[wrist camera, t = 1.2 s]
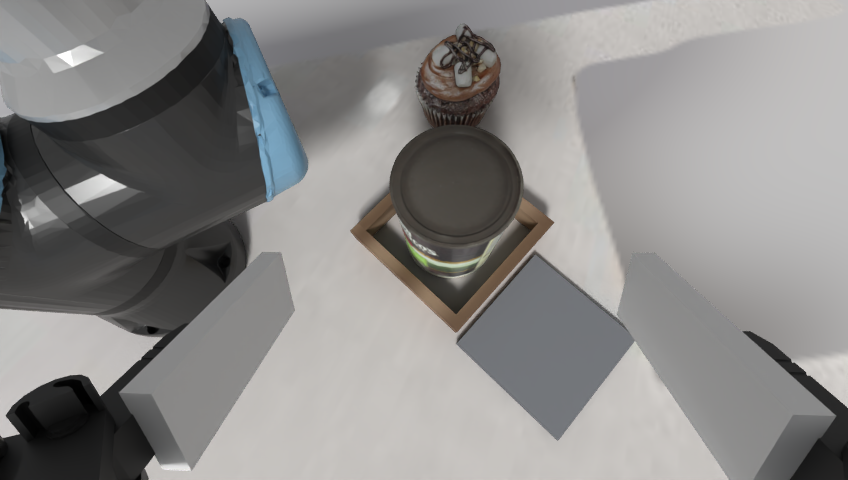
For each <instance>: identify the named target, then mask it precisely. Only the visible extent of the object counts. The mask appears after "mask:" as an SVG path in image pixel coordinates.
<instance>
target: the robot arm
mask: <svg viewBox="0 0 848 480" xmlns="http://www.w3.org/2000/svg"><path fill="white" fill-rule="evenodd" d="M0 85H1V91H2V97H3V101H4V102H5V104H6V106H7V107H8V108H9V109H11V110H12V111H13V112H15V113H14V114H12V115H9V116H7V117H2V118H0V309H12V310H27V311H41V312H56V313H71V314H86V315H96V316H98V317H100V318H102V319H104V320H106V321H108V322H110V323H112V324H114V325H116V326H118V327H120V328H122V329H124V330H126V331H128V332H131V333H134V334H137V335H142V336H147V337H163V338H162V339H161V340H160V341H159V342H158V343H157V344H156V345H155V346H154V347H153V349H152V350H149V351H148V352H147V353H146V354H145V355H144V356H143V357H142V359H141V360H139V361H138V362H136V363H135V364H134V365H133V366H132V367H131V368H130V369H129V370H128V371H127V372H126V373H125V374H124V375H123V376H122V377H120V378H119V379H118V380H117V381H116V382H115V383H114V384H113V385H112V386H111V387H110V388H109V389H108V390H107V391H106V392H104V393H103V394H102V395H101V396H99V394H98V392H97V391H96V389H95V387H94V386H93V384H92V383H91V381H90V379H89V378H88V377H86V376H83V375H70V376H66V377H63V378H59V379H55V380H53V381H51V382H49V383H46V384H44V385H42V386H40V387H38V388H36V389H35V390H33V391H31V392H30V393H28V394H27V395H25V396H24V397H22V398H21V399H20V400H19V401H18V402H17V403H15V404H14V405H13V406H12V407H11V409H10V410H9V412H8V413H7V415H6V417H7V418H8V419H9V421H10V422H11V423H12V424H13V425H14V427H15V428H16V429H17V430H18V432H19V433H20V434H19V435H15V436H11V437H6V438H2V437H1V436H0V480H148V475H147V473H146V471H145V469H144V468H145V467H146V465H147V464H148V463H149V462H150V460H151V459H152V458H153V456H154V455H155V456H156V458H157V460H158V462H159V463H160V465H161V467H162V469H163V470H181V471H192V470H193V468H194V466H195V465H196V463H197V462H198V460H199V459H200V457H201V456H202V454H203V452H204V451H205V449H206V448H207V446H208V445H209V443H210V441H211V440H212V438H213V437H214V435H215V434H216V432H217V431H218V429H219V427H220V426H221V424H222V423H223V421H224V420H225V418H226V417H227V415H228V413H229V412H230V410H231V409H232V407H233V406H234V404H235V403H236V401H237V399H238V398H239V396H240V395H241V393H242V392H243V390H244V389H245V387H246V385H247V384H248V382H249V381H250V379H251V378H252V376H253V374H254V373H255V371H256V370H257V368H258V367H259V365H260V364H261V362H262V360H263V359H264V357H265V356H266V354H267V353H268V351H269V350H270V348H271V346H272V345H273V343H274V342H275V340H276V339H277V337H278V336H279V334H280V332H281V331H282V329H283V328H284V326H285V325H286V323H287V322H288V320H289V318H290V317H291V315H292V314H293V312H294V311H295V309H294V305H293V301H292V296H291V292H290V288H289V284H288V280H287V275H286V271H285V267H284V263H283V259H282V254H281V252H262V253H261V254H260V255H259V256H258V257H257V258H256V259H255V260H254V261H253V262H252V263H251V264H250V265H249V266H248V267H247V268H246V269H245V265H246V254H245V248H244V244H243V240H242V238H241V236H240V234H239V232H238V230H237V229H236V227H235V226H234V225H233V224H232V223H231V222H230V221H229V220H228V219H230V218H232V217H234V216H236V215H239V214H241V213H243V212H245V211H247V210H249V209H251V208H254V207H256V206H258V205H260V204H262V203H264V202H269V201H271V200H273V198H274V196H276V195H277V194H279V193H281V192H283V191H285V190H286V189H288V188H290V187H292V186H294V185H295V184H297V183H299V182H300V181H301V180H302V179H303V178H304V176H305V174H306V172H307V170H308V159H307V156H306V153H305V151H304V149H303V146H302V144H301V142H300V140H299V137H298V135H297V133H296V131H295V128H294V126H293V124H292V122H291V119H290V117H289V115H288V112H287V110H286V108H285V106H284V103H283V101H282V99H281V97H280V94H279V92H278V90H277V87H276V85H275V83H274V81H273V78H272V76H271V74H270V71H269V69H268V67H267V65H266V63H265V60H264V58H263V55H262V53H261V51H260V48H259V46H258V44H257V42H256V39H255V37H254V35H253V33H252V31H251V28H250V26H249V24H248V23H247V22H246V21H245V20H244V19H241V18H238V19H231V18H229V17H228V18H226V19H224V20H223V23H222V24H221V23H220V22H219V20H218V19H217V17H216V16H215V14H214V13H213V11H212V10H211V8H210V7H209V5H208V4H207V2H206V1H205V0H0ZM617 315H618V317H619V318H620V320H621V321H622V323H623V324H624V326H625V327H626V329H627V330H628V331H629V333H630V334H631V336H632V337H633V339H634V340H635V342H636V343H637V345H638V346H639V348H640V349H641V351H642V352H643V354H644V355H645V356H646V358H647V359H648V361H649V362H650V364H651V365H652V367H653V368H654V370H655V371H656V373H657V374H658V376H659V377H660V378H661V380H662V381H663V383H664V384H665V386H666V387H667V389H668V390H669V392H670V393H671V395H672V396H673V398H674V399H675V401H676V402H677V403H678V405H679V406H680V408H681V409H682V411H683V412H684V414H685V415H686V417H687V418H688V420H689V421H690V423H691V424H692V426H693V427H694V428H695V430H696V431H697V433H698V434H699V436H700V437H701V439H702V440H703V442H704V443H705V445H706V446H707V448H708V449H709V451H710V452H711V453H712V455H713V456H714V458H715V459H716V461H717V462H718V464H719V465H720V467H721V468H722V470H723V471H724V473H725V474H726V476H727V477H728V478H729V480H848V408H847V407H846V406H845V405H844V404H843V403H841V402H840V401H839V400H838V399H837V398H836V397H834V396H833V395H832V394H831V393H830V392H829V391H827V390H826V389H825V388H824V387H823V386H821V385H820V384H819V383H818V382H817V381H816V380H814V379H813V378H812V377H811V376H807V375H806V372H805V371H804V370H803V369H802V368H800V367H799V366H798V365H797V364H796V363H792V362H791V359H790V358H789V357H787V356H786V355H785V354H784V353H783V352H782V351H780V350H779V349H778V348H777V347H776V346H774V345H773V344H772V343H770V342H768V341H766V340H765V339H763V338H761V337H759V336H757V335H756V334H754V333H752V332H750V331H749V332H748V331H741V330H740V329H739V328H738V327H737V326H736V325H734V324H733V323H732V322H731V321H730V320H729V319H728V318H727V317H725V316H724V315H723V314H722V313H721V312H720V311H719V310H718V309H717V308H716V307H714V306H713V305H712V304H711V303H710V302H709V301H708V300H707V299H706V298H704V297H703V296H702V295H701V294H700V293H699V292H698V291H697V290H696V289H694V288H693V287H692V286H691V285H690V284H689V283H688V282H687V281H686V280H684V279H683V278H682V277H681V276H680V275H679V274H678V273H677V272H675V271H674V270H673V269H672V268H671V267H670V266H669V265H668V264H667V263H665V262H664V261H663V260H662V259H661V258H660V257H659V256H658V255H657V254H655V253H632V257H631V261H630V265H629V269H628V273H627V277H626V281H625V285H624V289H623V292H622V296H621V300H620V304H619V308H618V312H617Z"/></svg>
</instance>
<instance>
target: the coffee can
mask: <svg viewBox="0 0 848 480" xmlns="http://www.w3.org/2000/svg"><path fill="white" fill-rule="evenodd" d="M389 186H390V196H391V200H392V204H393V206H394V209H395V211H396V213H397V215H398V217H399V220H400V223H401V226H402V229H403V232H404V235H405V239H406V244H407V247H408V250H409V253H410V255H411V257H412V258H413V260H414V261H415V262H416V263H417V264H418V265H419V266H420V267H421V268H422V269H423V270H425V271H426V272H428V273H430V274H432V275H435V276H438V277H442V278H459V277H463V276H466V275H469V274H471V273H473V272H475V271H476V270H478V269H479V268H480V267H481V266H482V265H483V264H484V263H485V262H486V260H487V259H488V257H489V256H490V254H491V251H492V250H493V248H494V246H495V245H496V243H497V242H498V240H499V238H500V237H501V235H502V234H503V232H504V230H505V229H506V228H507V227H508V226H509V225H510V223H511V222H512V221H513V219H514V218H515V216H516V214H517V212H518V210H519V208H520V205H521V202H522V197H523V191H524V189H523V176H522V171H521V168H520V165H519V163H518V161H517V159H516V157H515V155H514V154H513V153H512V151H511V150H510V148H509V147H508V146H507V145H506V144H505V143H504V142H503V141H501V140H500V139H499V138H498V137H496V136H494V135H493V134H491V133H489V132H487V131H485V130H483V129H480V128H477V127H473V126H468V125H444V126H439V127H435V128H432V129H429V130H427V131H425V132H423V133H421V134H420V135H418V136H416V137H415V138H414V139H412V140H411V141H410V142H409V143H408V144H407V145H406V146H405V147H404V148H403V149H402V150H401V152H400V153H399V155H398V156H397V158H396V160H395V162H394V165H393V168H392V171H391V176H390V185H389Z"/></svg>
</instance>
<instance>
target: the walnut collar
mask: <svg viewBox="0 0 848 480" xmlns="http://www.w3.org/2000/svg"><path fill="white" fill-rule="evenodd" d="M395 214H396V211H395V209H394V206H393V204H392V200H391V196H390V193H388V194H387V195H386V196H385V197H384V198H383V199H382V200H381V201H380V202H379V203H378V204H377V205H376V206H375V207H374V208H373V209H372V210H371V211H370V212H369V213H368V214H367V215H366V216H365V217H364V218H363V219H362V220H361V221H360V222H359V223H358V224H357V225H356V226H355V227H354V228H353V229H352V230H351V233H352V234H353V235H354V236H355V238H356V239H357V240H358V241H359V242H360V243H361V244H362V245H364V246H365V247H366V248H367V249H368V250H369V251H370V252H371V253H372V254H373V255H374V256H375V257H376V258H377V259H378V260H379V261H380V262H381V263H383V264H384V265H385V266H386V267H387V268H388V269H389V270H390V271H391V272H392V273H393V274H394V275H395V276H396V277H397V278H398V279H399V280H401V281H402V282H403V283H404V284H405V285H406V286H407V287H408V288H409V289H410V290H411V291H412V292H413V293H414V294H415V295H416V296H417V297H418V298H420V299H421V300H422V301H423V302H424V303H425V304H426V305H427V306H428V307H429V308H430V309H431V310H432V311H433V312H434V313H435V314H436V315H437V316H439V317H440V318H441V319H442V320H443V321H444V322H445V323H446V324H447V325H448V326H449V327H450V328H451V329H452V330H453V331H454V332H455V333H456V332H458V331H459V329H460V328H461V327H462V326H463V325H464V324H465V323H466V322H467V320H468V319H469V318H470V317H471V316H472V315H473V314H474V312H475V311H476V310H477V309H478V308H479V307H480V306H481V305H482V303H483V302H484V301H485V300H486V299H487V298H488V297H489V296H490V294H491V293H492V292H493V291H494V290H495V289H496V288H497V287H498V285H499V284H500V283H501V282H502V281H503V280H504V279H505V278H506V276H507V275H508V274H509V273H510V272H511V271H512V270H513V269H514V267H515V266H516V265H517V264H518V263H519V262H520V261H521V260H522V258H523V257H524V256H525V255H526V254H527V253H528V252H529V250H530V249H531V248H532V247H533V246H534V245H535V244H536V243H537V241H538V240H539V239H540V238H541V237H542V236H543V235H544V234H545V232H546V231H547V230H548V229H549V228H550V227H551V226H552V225H553V223H554V222H553V221H552V220H551V219H549V218H548V217H547V216H546V215H544V214H543V213H542V212H541V211H539V210H538V209H537V208H536V207H534V206H533V205H532V204H531V203H529V202H528V201H527V200H525V199H524V198H523V197H522V202H521V205H520V208H519V210H518V212H517V214H516V216H515V219H516V220H518V221H519V222H520V223H521V224H522V225H524V226H525V227H526V228H527V229H529V230H530V231H531V232H530V233H529V234H528V235H527V236H526V237H525V238H524V239H523V241H522V242H521V243H520V244H519V245H518V246H517V247H516V248H515V250H514V251H513V252H512V253H511V254H510V255H509V256H508V257H507V258H506V260H505V261H504V262H503V263H502V264H501V265H500V266H499V267H498V268H497V270H496V271H495V272H494V273H493V274H492V275H491V276H490V277H489V278H488V280H487V281H486V282H485V283H484V284H483V285H482V286H481V287H480V288H479V290H478V291H477V292H476V293H475V294H474V295H473V296H472V297H471V299H470V300H469V301H468V302H467V303H466V304H465V305H464V306H463V307H462V309H461V310H460V311H459V312H458V313H457V314H455V313H454V312H453V311H452V310H451V309H450V308H449V307H447V306H446V305H445V304H444V303H443V302H442V301H441V300H440V299H439V298H438V297H437V296H436V295H435V294H434V293H432V292H431V291H430V290H429V289H428V288H427V287H426V286H425V285H424V284H423V283H422V282H421V281H420V280H419V279H417V278H416V277H415V276H414V275H413V274H412V273H411V272H410V271H409V270H408V269H407V268H406V267H405V266H403V265H402V264H401V263H400V262H399V261H398V260H397V259H396V258H395V257H394V256H393V255H392V254H391V253H390V252H388V251H387V250H386V249H385V248H384V247H383V246H382V245H381V244H380V243H379V242H378V241H377V240H376V239H375V238H373V236H374V235H375V234H376V233H377V232H378V231H379V230H380V229H381V228H382V227H383V226H384V225H385V224H386V223H387V222H388V221H389V220H390V219H391V218H392V217H393V216H394V215H395Z"/></svg>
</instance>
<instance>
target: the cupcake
mask: <svg viewBox="0 0 848 480" xmlns="http://www.w3.org/2000/svg"><path fill="white" fill-rule="evenodd" d="M421 65H422V67H421V68H419V72H418V71H417V74H418V75H417V76H416V79H417V80H416V81H415V82H416V86H415V88H416V93H417V96H418V98H419V100H420V103H421V105H422V108H423V111H424V114H425V116H426V118H427V120H428V122H429V123H430V125H431V126H433V127H434V128H435V127H439V126H444V125H468V126H473V127H475V125H477V124H478V123H479V122H480V121H481V119H482V117H483V116H484V114H485V112H486V110H487V108H488V107H489V106H490V104H491V103H492V102H493V99H494V98H495V95H496V94H497V90H498V88H499V74H500V69H501V63H500V58H499V57H498V55H497V53H496V51H495V48H494V47H493V45H492V44H491V43H489V42H488V41H486V40H485V39H483V38H482V37H480V36H477V35H475V34H473V33H472V31H471V30H470V28H469V27H468V26H467V25H466V24H460V25H459V26H458V27H457V29H456V35H452V36H450V37H448V38H446V39H444V40H442V41H441V42H440V43H439V44H438V45H437V46H435V47H434V48H433V49H432V50H431V52H430V53H429V54H428V55H427V57H426V59H425V61H424V62H423V63H421Z"/></svg>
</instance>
